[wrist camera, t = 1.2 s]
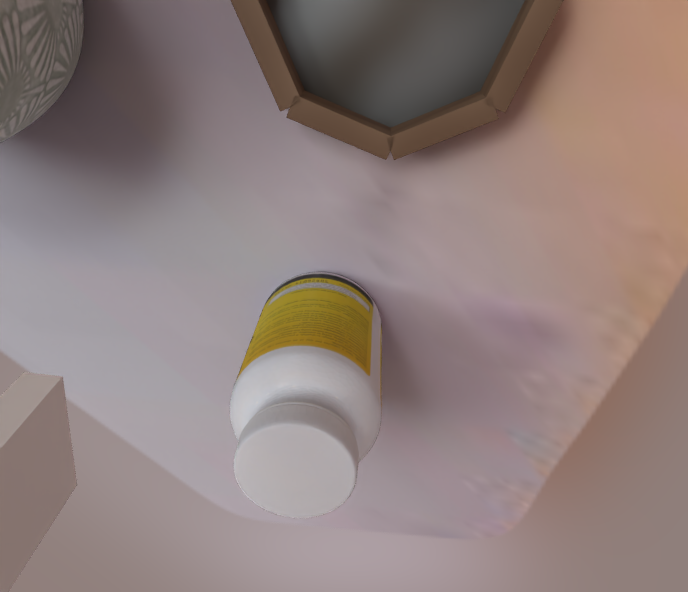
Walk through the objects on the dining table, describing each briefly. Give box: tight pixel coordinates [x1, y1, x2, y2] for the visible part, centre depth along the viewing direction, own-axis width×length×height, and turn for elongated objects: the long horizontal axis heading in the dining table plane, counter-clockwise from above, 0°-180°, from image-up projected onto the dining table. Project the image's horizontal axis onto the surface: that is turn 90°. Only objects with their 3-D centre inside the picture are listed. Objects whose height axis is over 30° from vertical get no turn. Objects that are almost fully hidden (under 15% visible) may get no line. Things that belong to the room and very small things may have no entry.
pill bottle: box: [230, 272, 382, 518], centre depth 28 cm, size 6×6×12 cm
